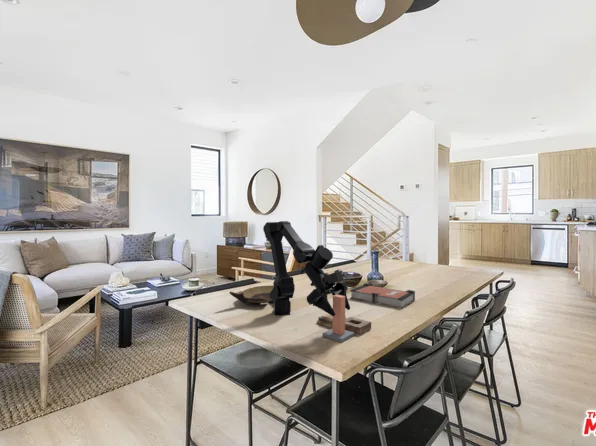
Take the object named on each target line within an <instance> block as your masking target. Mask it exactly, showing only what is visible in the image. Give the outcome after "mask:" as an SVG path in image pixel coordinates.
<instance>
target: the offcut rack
mask: <svg viewBox="0 0 596 446" xmlns="http://www.w3.org/2000/svg"><path fill="white" fill-rule="evenodd" d="M346 317H347V316H346V315H345V330H347V331H351V332H354V333H355V334H356V335H363V334H364V333H366V332H368V331H369V330H372V321H368V320H365V319H360V318H357V317H353V316H349V317H347V318H346ZM317 318H318V319H317V320H316V324H317V325H320V326H324V327H327V328H331V329H332V327H333V316H332V315H330V314H328V313H326V314H323V315H321V316H318V317H317Z"/></svg>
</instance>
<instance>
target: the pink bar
mask: <svg viewBox="0 0 596 446" xmlns="http://www.w3.org/2000/svg"><path fill="white" fill-rule="evenodd" d="M332 309H333V310H334V312H335V316H333V327H332V328H331V329H332V333H335V334H338V335H342V334H344V333H345V316H346V308H345V296H342V295H334V296H333V295H332Z"/></svg>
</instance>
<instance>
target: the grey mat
mask: <svg viewBox="0 0 596 446" xmlns="http://www.w3.org/2000/svg"><path fill="white" fill-rule="evenodd" d="M322 337H323V338H328V339H330V340H334V341H337V342H339V343H344V342H345V341H347V340H349V339H351V338H353V337H355V333H354V332H351V331H347V330H345V333H344V334H342V335H338V334H335V333H332V328H331V329H329V330H326V331H324V332H322Z"/></svg>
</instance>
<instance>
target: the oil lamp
mask: <svg viewBox="0 0 596 446" xmlns="http://www.w3.org/2000/svg"><path fill="white" fill-rule="evenodd" d="M273 288H274V285H259V286H253V287H249V288H246V289H244V290H242V291H240V290H239V291H237V292H233V291H229V294H230V295H231V296H232V297H233V298H235V299H236V300H237V301H240V303H242V304H246V303H252V304H268V303H272V302H273V303H274V300H273V299H271V298H270V292H271V291H272V289H273Z"/></svg>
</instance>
